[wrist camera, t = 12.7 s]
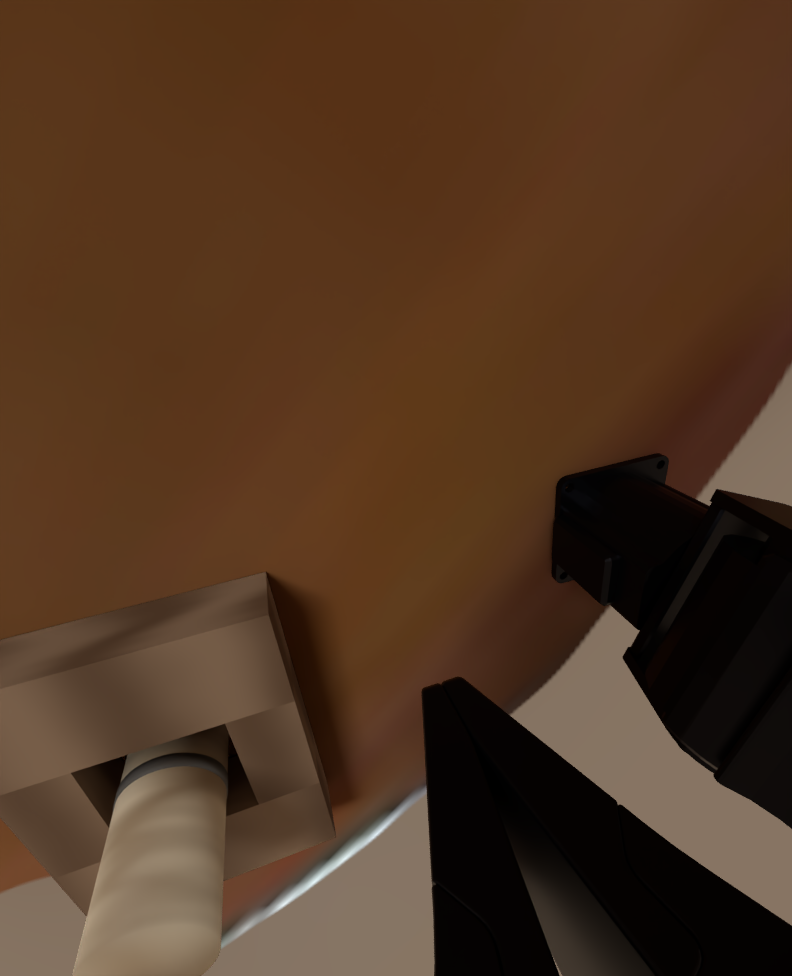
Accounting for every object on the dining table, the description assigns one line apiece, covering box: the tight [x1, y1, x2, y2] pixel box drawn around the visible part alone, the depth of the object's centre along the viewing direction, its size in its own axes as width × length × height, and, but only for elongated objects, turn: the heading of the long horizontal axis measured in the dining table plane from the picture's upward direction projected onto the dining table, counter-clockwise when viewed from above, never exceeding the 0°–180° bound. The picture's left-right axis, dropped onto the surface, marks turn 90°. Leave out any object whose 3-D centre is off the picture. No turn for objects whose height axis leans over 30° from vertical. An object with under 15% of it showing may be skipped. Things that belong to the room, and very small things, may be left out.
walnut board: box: [0, 572, 336, 916], centre depth 22 cm, size 12×16×3 cm
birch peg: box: [72, 724, 229, 976], centre depth 19 cm, size 4×4×9 cm
